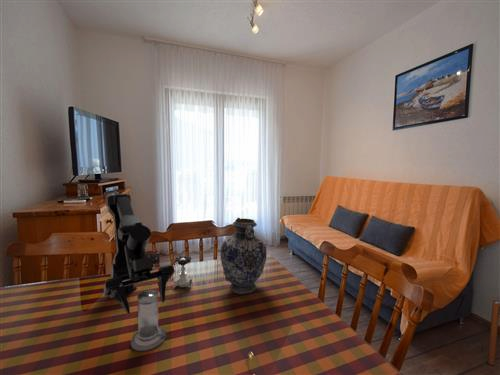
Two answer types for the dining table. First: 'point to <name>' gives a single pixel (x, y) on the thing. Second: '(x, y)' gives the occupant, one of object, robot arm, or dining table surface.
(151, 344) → the silver flat disc
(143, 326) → the grey piece
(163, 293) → the robot arm
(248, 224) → the decorative vase
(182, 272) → the valve
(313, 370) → the dining table surface
